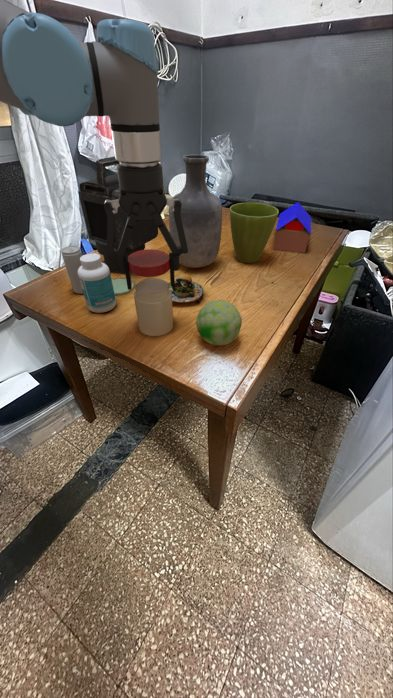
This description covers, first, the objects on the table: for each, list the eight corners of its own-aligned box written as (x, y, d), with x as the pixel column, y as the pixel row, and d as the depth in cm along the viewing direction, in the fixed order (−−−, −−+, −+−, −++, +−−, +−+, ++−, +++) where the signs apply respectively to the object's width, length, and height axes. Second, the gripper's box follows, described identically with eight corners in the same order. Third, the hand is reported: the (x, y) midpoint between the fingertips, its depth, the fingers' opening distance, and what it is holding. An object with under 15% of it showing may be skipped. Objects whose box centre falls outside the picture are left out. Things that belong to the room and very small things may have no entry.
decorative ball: (237, 328, 69) (242, 291, 63) (239, 356, 62) (245, 318, 55) (197, 326, 70) (197, 290, 63) (194, 353, 62) (194, 316, 55)
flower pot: (248, 246, 106) (254, 199, 96) (278, 260, 98) (289, 211, 87) (217, 256, 100) (220, 207, 89) (246, 272, 91) (254, 220, 80)
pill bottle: (122, 302, 77) (113, 254, 68) (104, 317, 72) (92, 266, 63) (100, 296, 79) (88, 248, 70) (81, 309, 74) (66, 260, 65)
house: (272, 249, 105) (278, 215, 97) (276, 230, 119) (282, 200, 112) (305, 253, 102) (315, 219, 95) (306, 234, 117) (314, 203, 109)
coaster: (109, 297, 79) (109, 295, 78) (101, 284, 84) (100, 282, 84) (138, 290, 82) (137, 288, 82) (128, 278, 87) (128, 276, 87)
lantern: (122, 250, 102) (106, 149, 82) (162, 262, 95) (155, 155, 75) (90, 266, 93) (63, 156, 73) (132, 281, 86) (115, 164, 66)
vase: (207, 251, 103) (210, 150, 83) (227, 270, 92) (237, 159, 72) (164, 258, 98) (157, 153, 78) (180, 278, 87) (177, 163, 67)
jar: (146, 340, 65) (141, 299, 58) (133, 321, 71) (127, 282, 64) (179, 329, 69) (177, 289, 61) (164, 312, 74) (161, 273, 67)
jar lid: (175, 273, 58) (175, 263, 56) (133, 280, 55) (132, 270, 54) (163, 256, 64) (162, 247, 62) (124, 262, 61) (123, 252, 60)
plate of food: (152, 296, 80) (149, 271, 75) (181, 281, 86) (181, 257, 81) (183, 313, 74) (183, 287, 69) (212, 295, 80) (213, 270, 75)
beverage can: (78, 296, 79) (65, 254, 71) (70, 290, 82) (57, 248, 74) (94, 290, 82) (83, 249, 74) (86, 284, 84) (75, 244, 76)
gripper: (199, 158, 51) (197, 274, 66) (75, 159, 49) (102, 279, 64) (206, 166, 46) (202, 290, 61) (67, 167, 43) (99, 297, 58)
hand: (151, 285), depth 62 cm, fingers closed on jar lid, 9 cm apart
